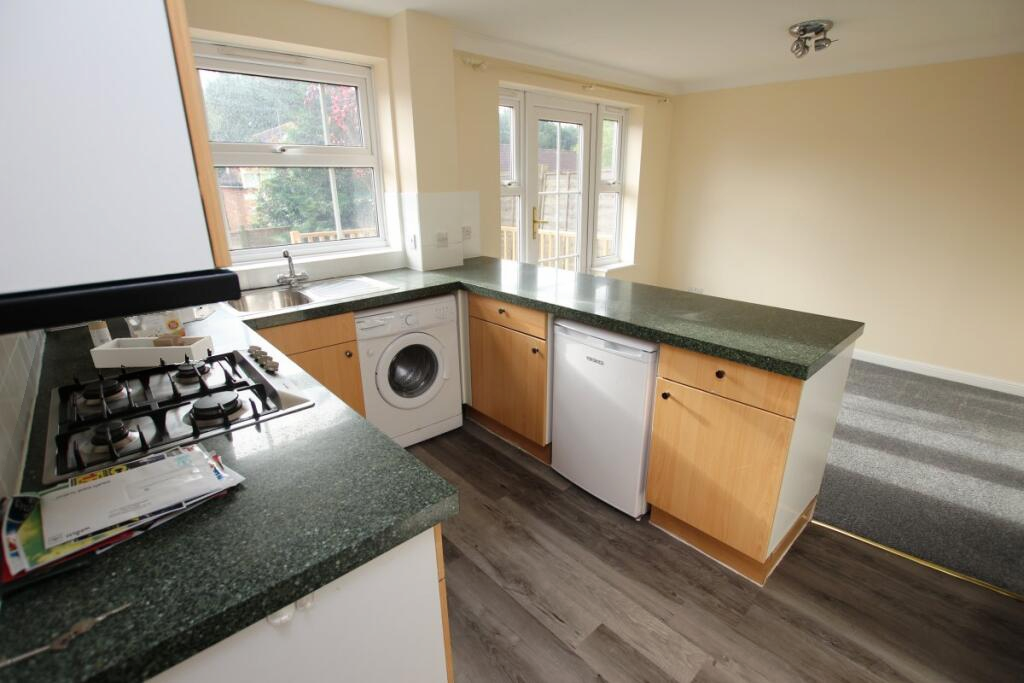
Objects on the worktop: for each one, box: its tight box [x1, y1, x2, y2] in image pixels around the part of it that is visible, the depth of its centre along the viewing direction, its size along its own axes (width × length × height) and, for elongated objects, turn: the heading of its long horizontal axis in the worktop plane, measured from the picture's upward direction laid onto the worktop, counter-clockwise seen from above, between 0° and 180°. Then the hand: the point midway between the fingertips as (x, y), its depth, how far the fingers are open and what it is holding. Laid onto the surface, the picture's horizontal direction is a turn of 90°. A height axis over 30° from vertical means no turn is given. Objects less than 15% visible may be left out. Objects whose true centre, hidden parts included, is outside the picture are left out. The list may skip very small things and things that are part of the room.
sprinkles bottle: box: [87, 320, 113, 348], centre depth 145 cm, size 5×5×14 cm
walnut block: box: [153, 335, 184, 347], centre depth 140 cm, size 5×5×4 cm
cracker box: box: [126, 310, 187, 338], centre depth 156 cm, size 14×6×21 cm, turn 141°
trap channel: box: [89, 335, 215, 369], centre depth 141 cm, size 28×10×6 cm, turn 93°
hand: (139, 330), depth 138 cm, fingers closed
